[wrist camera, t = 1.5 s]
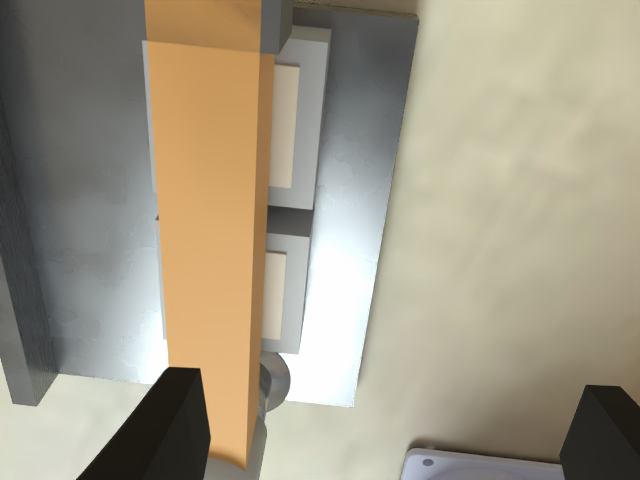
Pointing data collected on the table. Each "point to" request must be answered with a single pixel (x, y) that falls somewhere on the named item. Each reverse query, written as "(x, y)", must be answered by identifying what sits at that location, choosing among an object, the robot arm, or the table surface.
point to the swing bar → (215, 199)
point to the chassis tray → (142, 205)
